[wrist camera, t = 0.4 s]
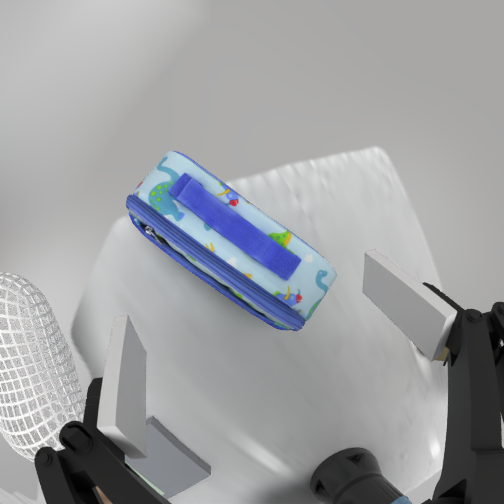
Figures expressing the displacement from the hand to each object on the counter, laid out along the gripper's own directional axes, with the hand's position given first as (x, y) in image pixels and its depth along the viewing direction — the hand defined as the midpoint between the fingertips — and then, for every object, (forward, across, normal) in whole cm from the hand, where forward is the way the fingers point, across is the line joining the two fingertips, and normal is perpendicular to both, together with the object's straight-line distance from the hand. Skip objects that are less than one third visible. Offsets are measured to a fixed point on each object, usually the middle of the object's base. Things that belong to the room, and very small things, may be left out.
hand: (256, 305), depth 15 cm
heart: (+26, +32, +21) cm, 46 cm away
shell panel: (+14, +21, +41) cm, 48 cm away
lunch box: (+32, -1, +12) cm, 34 cm away
